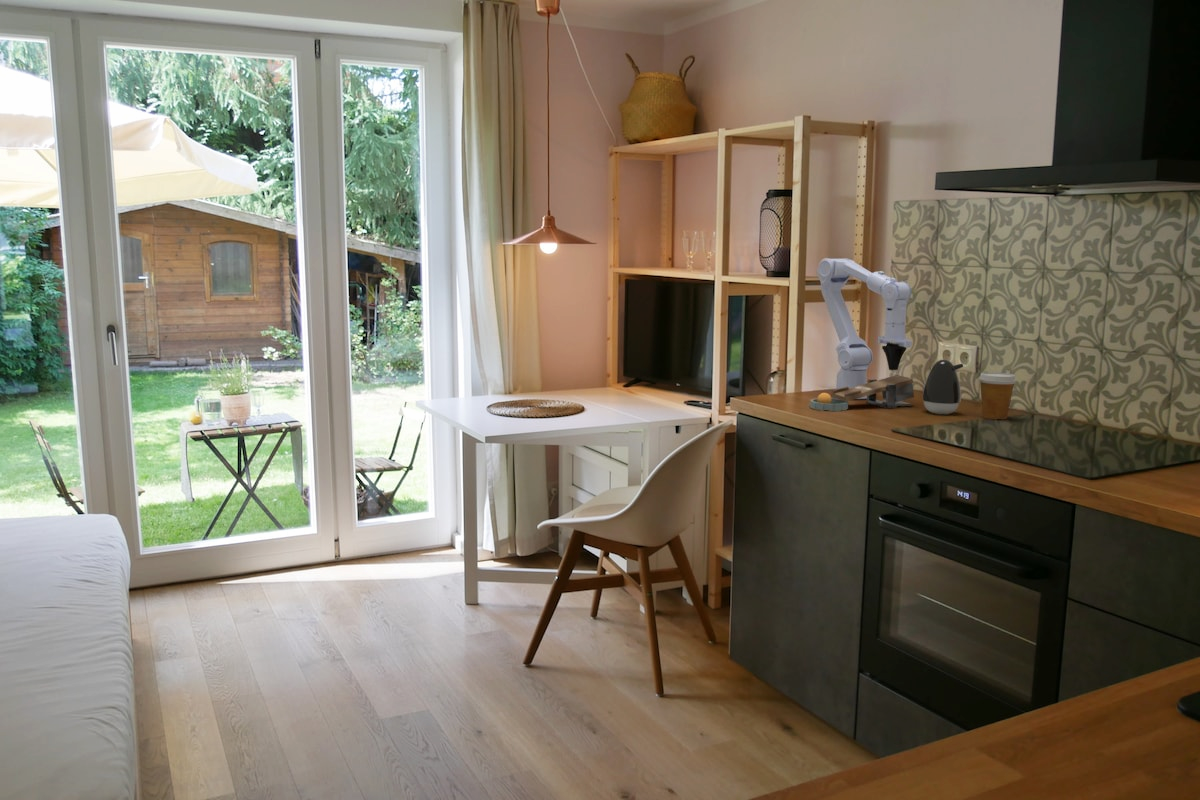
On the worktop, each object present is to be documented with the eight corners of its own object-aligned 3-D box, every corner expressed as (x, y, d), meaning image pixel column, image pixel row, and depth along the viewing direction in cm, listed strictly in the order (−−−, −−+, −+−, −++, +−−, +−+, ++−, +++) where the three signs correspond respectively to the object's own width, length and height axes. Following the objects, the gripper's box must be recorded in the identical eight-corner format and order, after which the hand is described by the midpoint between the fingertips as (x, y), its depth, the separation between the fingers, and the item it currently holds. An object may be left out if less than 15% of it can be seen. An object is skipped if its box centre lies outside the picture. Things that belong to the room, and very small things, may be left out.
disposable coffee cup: (1020, 420, 266) (1024, 376, 264) (990, 421, 264) (993, 377, 262) (998, 413, 275) (1001, 371, 273) (968, 415, 273) (971, 372, 271)
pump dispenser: (953, 417, 269) (957, 362, 267) (916, 413, 275) (919, 359, 273) (965, 412, 277) (969, 359, 275) (928, 408, 283) (932, 356, 281)
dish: (803, 405, 286) (803, 398, 286) (835, 404, 289) (836, 397, 289) (821, 411, 276) (821, 404, 276) (854, 410, 279) (855, 403, 279)
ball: (818, 389, 283) (829, 394, 284) (812, 402, 283) (823, 407, 285) (825, 391, 279) (836, 396, 281) (819, 404, 279) (830, 409, 281)
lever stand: (893, 401, 295) (894, 378, 294) (915, 407, 285) (916, 383, 283) (866, 402, 293) (867, 379, 291) (887, 408, 282) (888, 384, 281)
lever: (899, 393, 293) (896, 372, 292) (915, 397, 286) (912, 376, 284) (835, 411, 288) (831, 390, 287) (849, 416, 281) (846, 394, 279)
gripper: (922, 325, 280) (919, 372, 282) (893, 321, 294) (891, 366, 296) (900, 325, 278) (898, 373, 280) (872, 322, 292) (870, 367, 294)
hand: (893, 369), depth 288 cm, fingers closed
